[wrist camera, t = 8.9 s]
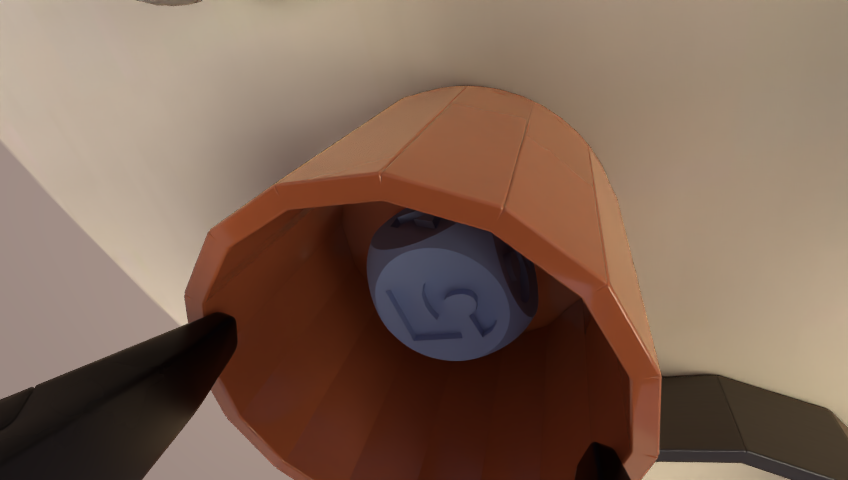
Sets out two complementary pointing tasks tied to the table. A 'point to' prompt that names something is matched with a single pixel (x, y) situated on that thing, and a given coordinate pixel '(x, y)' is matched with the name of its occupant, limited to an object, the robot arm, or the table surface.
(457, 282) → the decorative dice
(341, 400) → the terracotta cup
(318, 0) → the table surface
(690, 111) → the table surface
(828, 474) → the dark grey ring
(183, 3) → the ceramic mug
